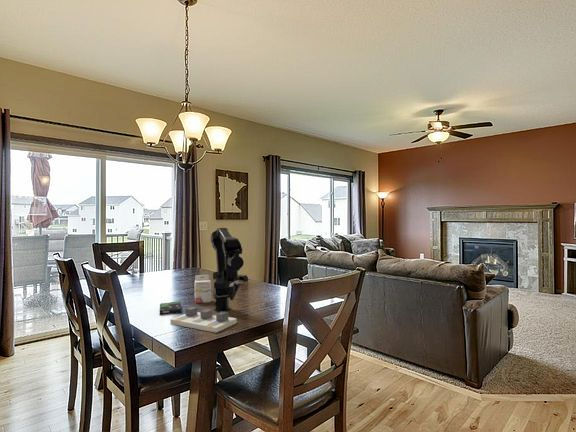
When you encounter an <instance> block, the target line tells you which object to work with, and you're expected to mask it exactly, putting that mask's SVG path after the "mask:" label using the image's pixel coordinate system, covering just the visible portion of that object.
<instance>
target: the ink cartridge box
mask: <svg viewBox="0 0 576 432" xmlns="http://www.w3.org/2000/svg"><path fill="white" fill-rule="evenodd" d="M210 276H211V275H210V274H198V275H197V274H196V275H195V276H194V303H195V304H200V303H203V304H204V303H212V281H211V280H210Z"/></svg>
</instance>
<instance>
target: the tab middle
mask: <svg viewBox="0 0 576 432" xmlns="http://www.w3.org/2000/svg"><path fill="white" fill-rule="evenodd" d="M212 314H213V309H208V308H206V309H202V310H201V311H200V316H201V318H204V319H208V318H210V317H212Z"/></svg>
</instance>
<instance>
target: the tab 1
mask: <svg viewBox="0 0 576 432" xmlns="http://www.w3.org/2000/svg"><path fill="white" fill-rule="evenodd" d="M197 312H198V307H197V306H190V307H187V308H185V314H186V315H187V316H193V315H196V314H197Z"/></svg>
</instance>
